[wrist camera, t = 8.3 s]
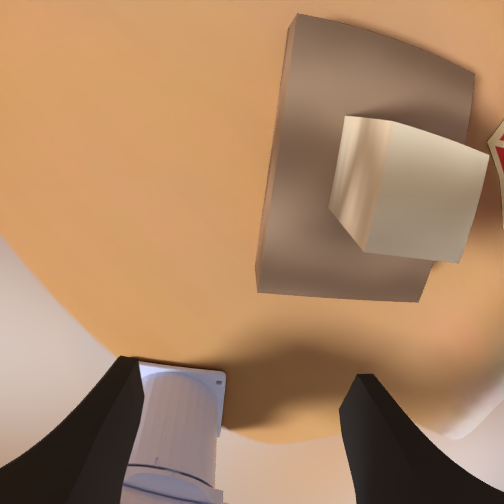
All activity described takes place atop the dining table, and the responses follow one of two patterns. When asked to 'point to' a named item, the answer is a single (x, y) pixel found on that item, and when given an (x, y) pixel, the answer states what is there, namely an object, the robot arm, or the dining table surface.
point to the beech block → (406, 190)
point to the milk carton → (499, 158)
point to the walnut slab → (327, 150)
